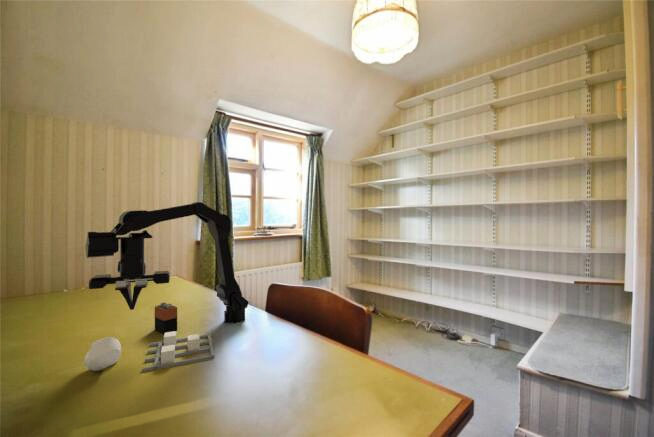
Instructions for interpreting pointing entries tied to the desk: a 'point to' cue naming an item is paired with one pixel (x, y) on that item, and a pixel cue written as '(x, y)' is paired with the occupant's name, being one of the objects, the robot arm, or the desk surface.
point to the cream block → (168, 354)
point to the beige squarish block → (193, 342)
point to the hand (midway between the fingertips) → (132, 309)
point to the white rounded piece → (103, 353)
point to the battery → (165, 318)
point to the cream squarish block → (170, 338)
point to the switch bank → (179, 353)
